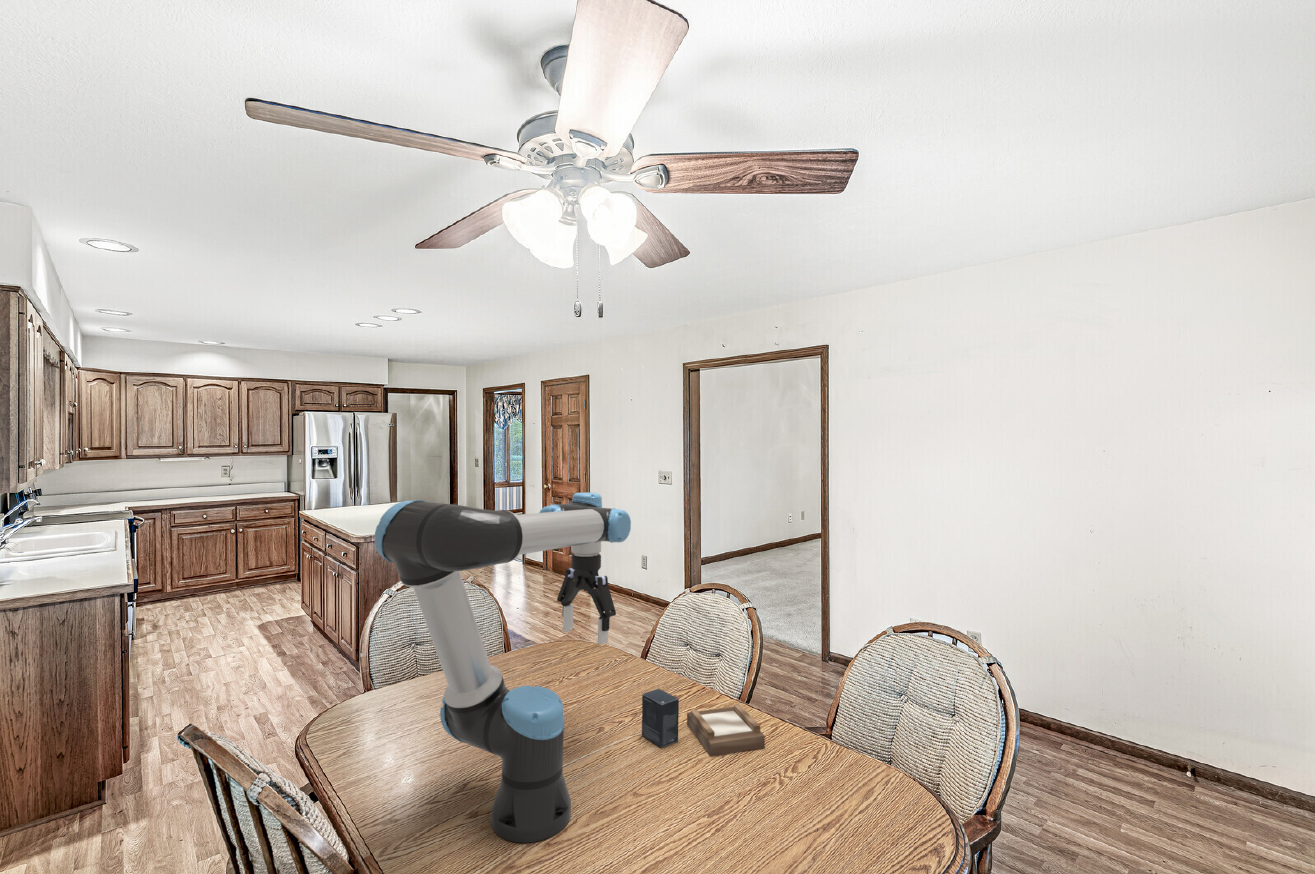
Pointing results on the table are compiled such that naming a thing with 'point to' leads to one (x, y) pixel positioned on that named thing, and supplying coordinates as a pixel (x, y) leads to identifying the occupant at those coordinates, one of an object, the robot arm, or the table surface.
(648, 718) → the box
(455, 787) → the table surface
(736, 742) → the stand
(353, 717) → the table surface
